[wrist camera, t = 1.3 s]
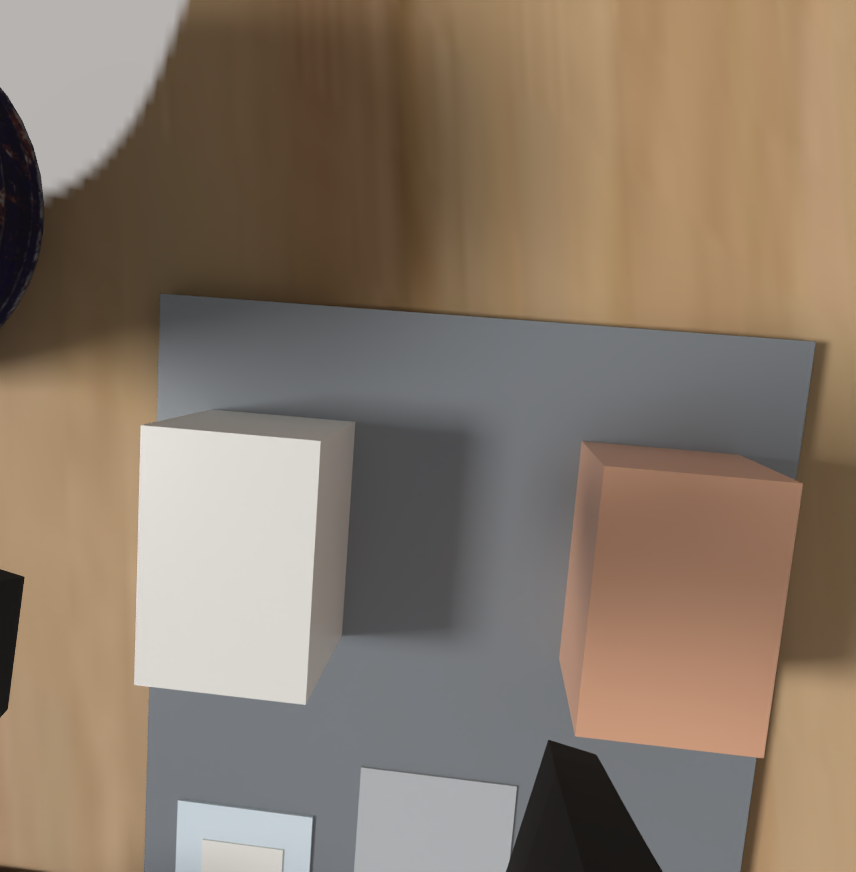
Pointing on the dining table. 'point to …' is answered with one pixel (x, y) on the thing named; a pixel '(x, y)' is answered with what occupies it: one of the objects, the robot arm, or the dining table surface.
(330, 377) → the baseplate
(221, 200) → the dining table surface
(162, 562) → the off-white brick
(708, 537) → the terracotta brick
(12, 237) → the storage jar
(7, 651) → the robot arm
